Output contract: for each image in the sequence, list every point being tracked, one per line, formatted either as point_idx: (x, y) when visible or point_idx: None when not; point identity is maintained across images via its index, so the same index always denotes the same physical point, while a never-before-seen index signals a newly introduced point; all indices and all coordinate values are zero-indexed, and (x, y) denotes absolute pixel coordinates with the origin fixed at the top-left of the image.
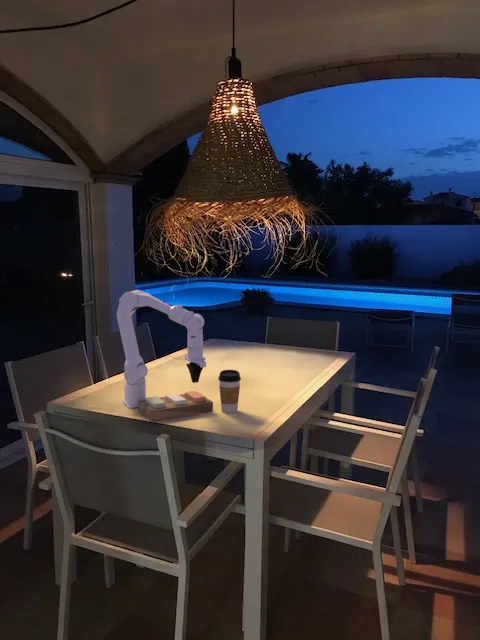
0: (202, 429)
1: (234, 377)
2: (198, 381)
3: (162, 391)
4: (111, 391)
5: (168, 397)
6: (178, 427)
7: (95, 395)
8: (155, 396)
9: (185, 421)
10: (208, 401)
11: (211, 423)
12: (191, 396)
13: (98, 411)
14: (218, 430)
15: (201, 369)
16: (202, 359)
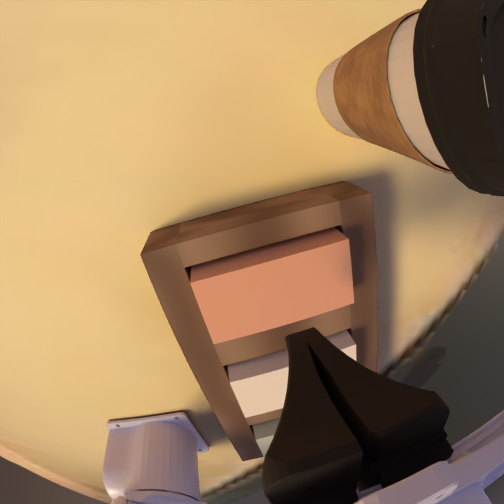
0: (473, 263)
1: None
2: (316, 329)
3: (2, 348)
4: (42, 452)
5: (281, 406)
6: (431, 329)
7: (84, 477)
8: (258, 441)
9: (400, 309)
10: (360, 217)
11: (451, 224)
12: (308, 316)
13: (218, 483)
14: (495, 218)
15: (403, 390)
16: (482, 473)
